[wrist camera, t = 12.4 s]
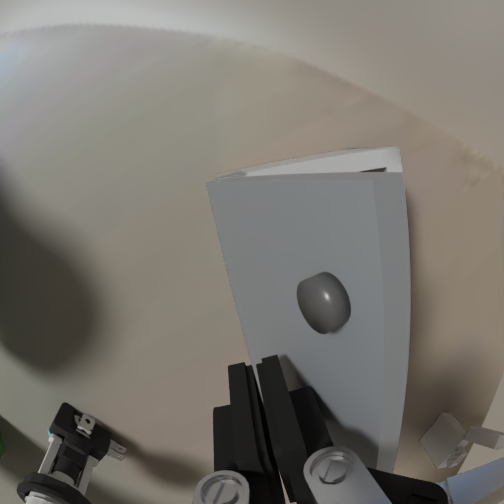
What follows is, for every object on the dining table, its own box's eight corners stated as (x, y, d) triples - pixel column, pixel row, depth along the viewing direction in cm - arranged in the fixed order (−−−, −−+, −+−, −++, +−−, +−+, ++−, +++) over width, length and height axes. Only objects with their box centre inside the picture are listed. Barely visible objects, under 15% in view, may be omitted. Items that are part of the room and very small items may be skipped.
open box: (375, 352, 21) (405, 392, 17) (266, 384, 21) (278, 433, 16) (355, 148, 17) (398, 146, 13) (216, 174, 17) (215, 179, 12)
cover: (378, 528, 9) (355, 545, 9) (285, 436, 16) (265, 447, 16) (402, 172, 5) (349, 186, 4) (225, 178, 12) (192, 186, 12)
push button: (139, 432, 21) (120, 538, 12) (114, 459, 22) (94, 550, 13) (65, 388, 20) (17, 488, 10) (48, 421, 21) (9, 507, 11)
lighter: (428, 441, 26) (462, 491, 18) (418, 441, 26) (452, 494, 18) (468, 390, 25) (512, 437, 17) (459, 388, 24) (504, 439, 17)
